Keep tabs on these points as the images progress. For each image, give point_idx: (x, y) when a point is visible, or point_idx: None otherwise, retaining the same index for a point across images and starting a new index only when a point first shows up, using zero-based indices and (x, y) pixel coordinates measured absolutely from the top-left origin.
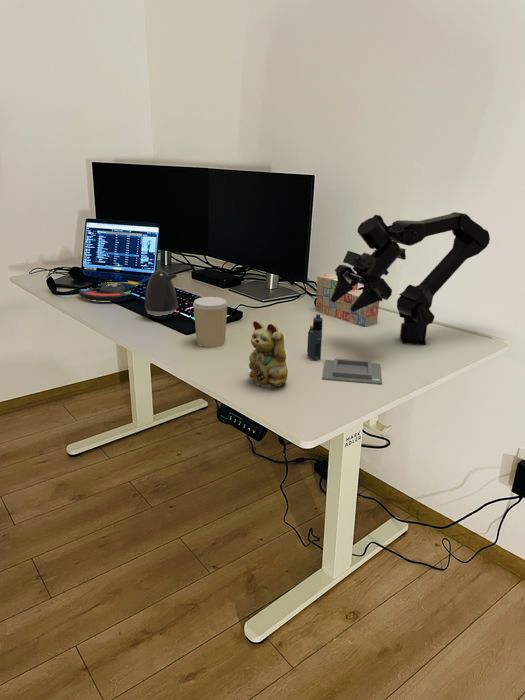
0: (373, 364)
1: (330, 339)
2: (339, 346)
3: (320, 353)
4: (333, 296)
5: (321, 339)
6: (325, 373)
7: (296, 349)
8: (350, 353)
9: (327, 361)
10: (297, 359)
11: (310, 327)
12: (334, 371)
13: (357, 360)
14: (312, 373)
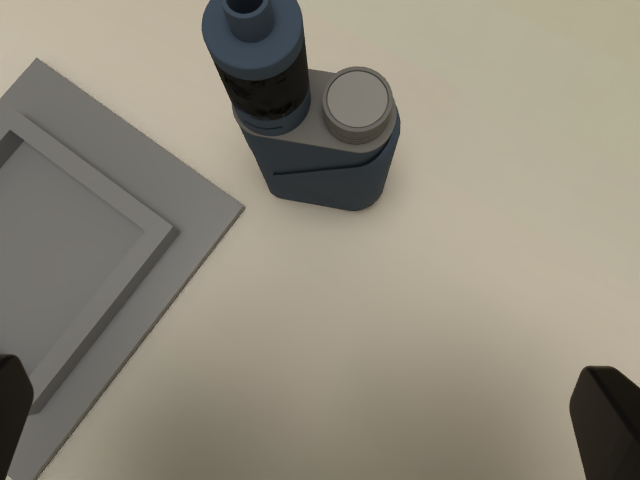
0: (40, 439)
1: None
2: (431, 445)
3: (265, 178)
4: (624, 414)
5: (248, 143)
6: (73, 101)
7: (483, 151)
8: (286, 435)
9: (212, 203)
10: None
11: (356, 68)
12: (12, 117)
13: (75, 340)
14: (129, 59)
